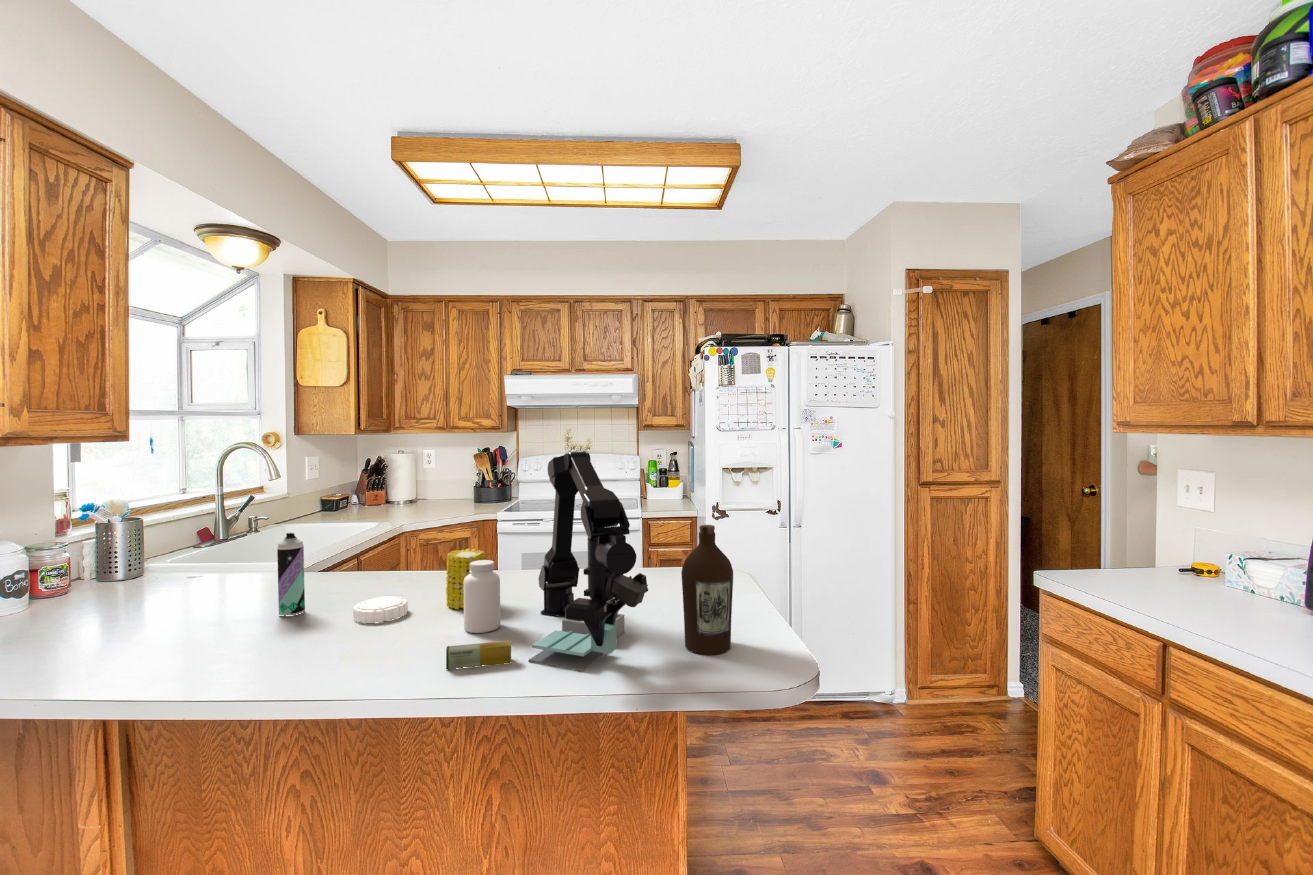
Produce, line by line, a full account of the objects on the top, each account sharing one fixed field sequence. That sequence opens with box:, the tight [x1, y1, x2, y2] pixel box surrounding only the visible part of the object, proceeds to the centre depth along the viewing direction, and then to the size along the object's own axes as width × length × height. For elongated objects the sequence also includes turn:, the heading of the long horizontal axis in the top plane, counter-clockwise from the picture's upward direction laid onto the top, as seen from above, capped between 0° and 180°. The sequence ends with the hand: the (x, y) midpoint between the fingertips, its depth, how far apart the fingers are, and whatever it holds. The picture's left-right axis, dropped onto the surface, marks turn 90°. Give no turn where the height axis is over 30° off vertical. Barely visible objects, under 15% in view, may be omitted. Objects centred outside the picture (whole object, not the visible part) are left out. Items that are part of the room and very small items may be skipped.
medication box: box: [445, 640, 512, 670], centre depth 111 cm, size 12×3×4 cm, turn 105°
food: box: [445, 547, 486, 611], centre depth 148 cm, size 15×12×10 cm
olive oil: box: [681, 524, 734, 656], centre depth 119 cm, size 11×11×25 cm
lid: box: [531, 624, 618, 656], centre depth 114 cm, size 16×9×5 cm, turn 67°
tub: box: [561, 613, 626, 639], centre depth 126 cm, size 11×8×4 cm
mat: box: [528, 650, 606, 672], centre depth 115 cm, size 12×10×1 cm
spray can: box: [276, 532, 306, 616], centre depth 143 cm, size 6×6×20 cm
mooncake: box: [352, 595, 409, 624], centre depth 141 cm, size 12×12×4 cm
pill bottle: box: [463, 559, 501, 634], centre depth 131 cm, size 8×8×15 cm
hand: (603, 642), depth 112 cm, fingers closed on lid, 3 cm apart
